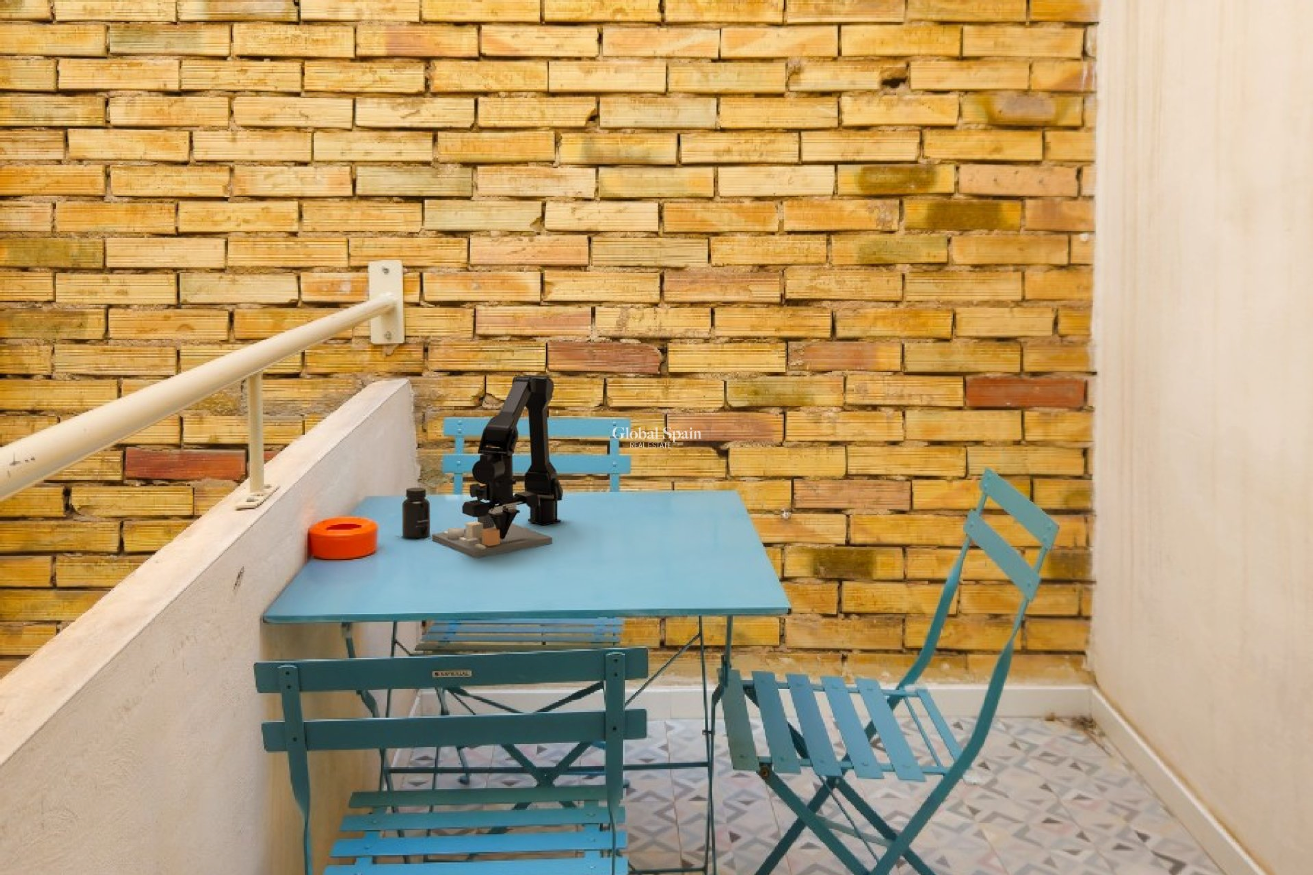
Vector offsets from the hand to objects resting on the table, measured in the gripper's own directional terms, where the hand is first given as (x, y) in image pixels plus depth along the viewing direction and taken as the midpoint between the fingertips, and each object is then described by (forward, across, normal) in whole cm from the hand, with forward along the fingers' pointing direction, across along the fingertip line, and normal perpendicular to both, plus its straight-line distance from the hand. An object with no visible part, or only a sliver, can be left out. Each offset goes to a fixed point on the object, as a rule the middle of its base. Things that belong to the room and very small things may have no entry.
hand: (502, 538), depth 296 cm
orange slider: (+1, +3, 0) cm, 3 cm away
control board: (+3, -2, -8) cm, 8 cm away
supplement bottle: (+3, +10, -24) cm, 26 cm away
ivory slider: (+1, +3, -8) cm, 8 cm away
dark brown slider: (+1, -5, -15) cm, 16 cm away
